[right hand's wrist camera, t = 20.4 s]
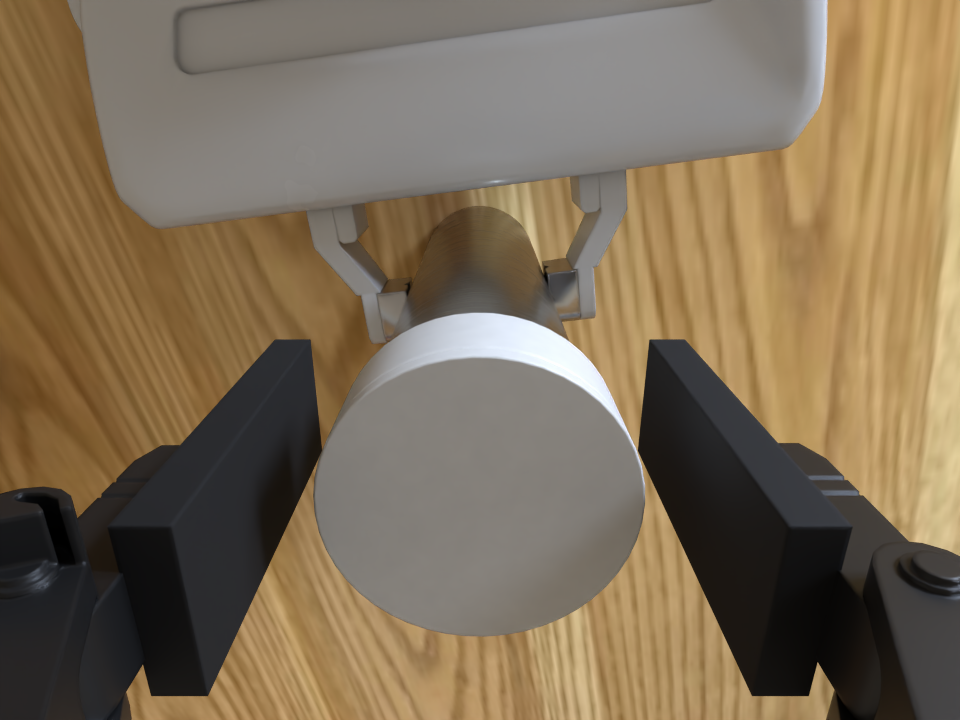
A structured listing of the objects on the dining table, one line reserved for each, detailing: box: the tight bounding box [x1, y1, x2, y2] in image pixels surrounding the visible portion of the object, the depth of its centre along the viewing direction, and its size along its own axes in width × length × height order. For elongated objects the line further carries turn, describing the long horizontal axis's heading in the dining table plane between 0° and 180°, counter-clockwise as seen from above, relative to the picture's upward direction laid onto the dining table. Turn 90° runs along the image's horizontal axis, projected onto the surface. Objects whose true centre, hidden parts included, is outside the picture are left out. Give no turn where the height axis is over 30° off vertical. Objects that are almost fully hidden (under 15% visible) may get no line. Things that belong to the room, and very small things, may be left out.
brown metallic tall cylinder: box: [390, 206, 569, 341], centre depth 19 cm, size 5×5×17 cm
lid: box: [313, 313, 645, 636], centre depth 11 cm, size 5×5×2 cm
